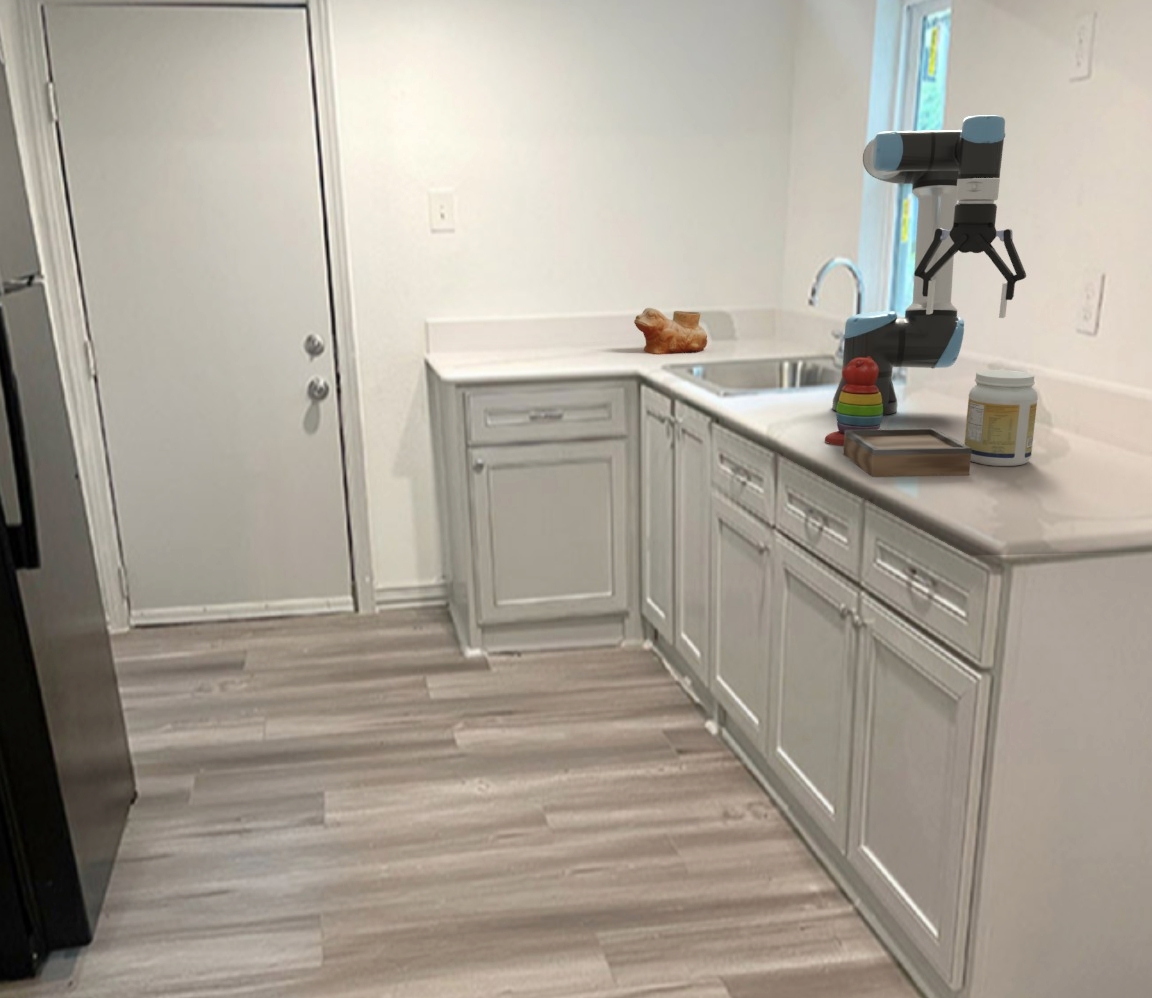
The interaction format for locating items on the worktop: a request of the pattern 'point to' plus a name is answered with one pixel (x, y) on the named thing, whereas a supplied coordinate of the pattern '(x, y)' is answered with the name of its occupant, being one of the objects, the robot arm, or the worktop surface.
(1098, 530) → the worktop surface
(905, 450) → the square tray
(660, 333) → the ceramic vessel
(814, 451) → the worktop surface
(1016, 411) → the supplement tub
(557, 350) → the worktop surface
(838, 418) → the stacking bear
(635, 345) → the worktop surface
